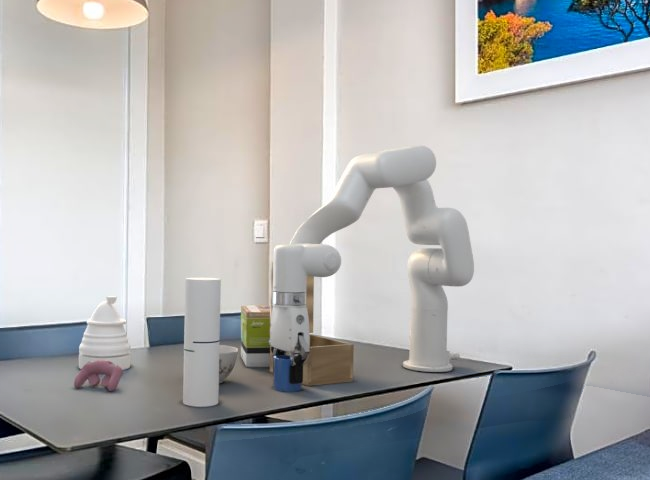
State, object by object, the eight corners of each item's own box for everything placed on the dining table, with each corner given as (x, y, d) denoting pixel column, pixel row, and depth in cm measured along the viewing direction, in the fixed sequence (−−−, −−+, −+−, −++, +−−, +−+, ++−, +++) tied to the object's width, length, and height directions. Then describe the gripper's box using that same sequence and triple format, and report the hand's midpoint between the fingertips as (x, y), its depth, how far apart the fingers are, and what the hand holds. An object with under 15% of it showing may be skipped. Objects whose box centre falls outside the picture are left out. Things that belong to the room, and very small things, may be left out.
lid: (314, 261, 175) (303, 261, 179) (272, 261, 169) (262, 261, 173) (313, 332, 175) (302, 330, 179) (271, 335, 169) (261, 332, 173)
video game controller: (120, 395, 147) (127, 364, 150) (110, 390, 143) (118, 358, 146) (81, 391, 150) (89, 361, 153) (70, 386, 146) (79, 355, 149)
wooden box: (353, 381, 160) (353, 344, 159) (308, 386, 154) (309, 347, 153) (311, 368, 175) (312, 334, 175) (269, 371, 169) (270, 336, 169)
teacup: (247, 384, 153) (248, 349, 153) (197, 390, 147) (198, 353, 147) (217, 372, 167) (218, 340, 167) (170, 377, 161) (171, 343, 160)
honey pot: (140, 365, 174) (141, 296, 174) (105, 373, 163) (106, 299, 163) (104, 360, 181) (105, 293, 181) (67, 367, 170) (69, 295, 170)
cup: (291, 384, 155) (292, 354, 155) (306, 390, 149) (307, 358, 149) (268, 386, 152) (269, 355, 152) (282, 392, 147) (283, 360, 146)
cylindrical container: (213, 407, 132) (215, 280, 132) (178, 405, 134) (180, 279, 133) (222, 399, 139) (224, 278, 139) (188, 397, 141) (191, 277, 140)
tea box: (239, 357, 189) (240, 304, 189) (274, 357, 190) (276, 305, 190) (245, 367, 174) (246, 310, 174) (283, 367, 175) (284, 310, 175)
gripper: (325, 302, 145) (323, 386, 145) (283, 296, 160) (281, 371, 160) (295, 303, 141) (293, 389, 141) (255, 296, 156) (254, 374, 157)
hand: (287, 379), depth 151 cm, fingers closed on cup, 6 cm apart
